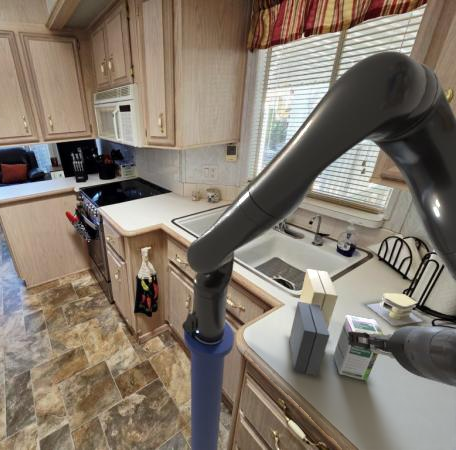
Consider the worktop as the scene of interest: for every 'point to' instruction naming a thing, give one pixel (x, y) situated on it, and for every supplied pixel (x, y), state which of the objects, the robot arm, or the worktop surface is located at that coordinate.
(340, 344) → the syrup box
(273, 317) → the worktop surface
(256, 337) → the worktop surface
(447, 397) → the worktop surface
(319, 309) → the grey books
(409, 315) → the stacked layers on plate
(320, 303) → the cream cookbooks
